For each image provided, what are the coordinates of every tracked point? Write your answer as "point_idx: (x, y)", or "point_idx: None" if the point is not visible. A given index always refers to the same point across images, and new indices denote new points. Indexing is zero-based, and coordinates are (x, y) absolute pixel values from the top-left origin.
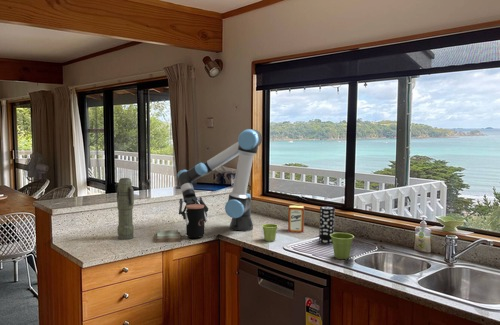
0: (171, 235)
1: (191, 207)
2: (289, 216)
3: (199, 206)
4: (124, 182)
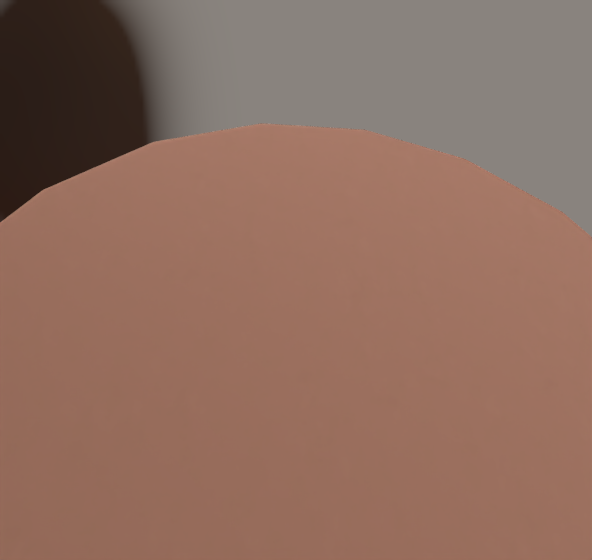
0: None
1: (585, 234)
2: None
3: (249, 207)
4: None
